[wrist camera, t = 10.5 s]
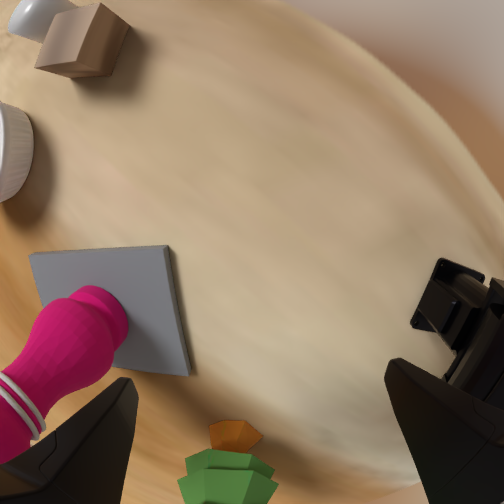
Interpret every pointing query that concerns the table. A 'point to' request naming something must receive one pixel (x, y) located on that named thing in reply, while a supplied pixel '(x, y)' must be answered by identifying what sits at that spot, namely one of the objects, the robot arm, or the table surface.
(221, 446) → the decorative tree
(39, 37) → the grey canister
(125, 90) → the table surface
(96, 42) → the walnut block
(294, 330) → the table surface
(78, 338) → the pepper mill
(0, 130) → the ramekin
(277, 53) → the table surface
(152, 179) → the table surface
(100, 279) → the slate board
